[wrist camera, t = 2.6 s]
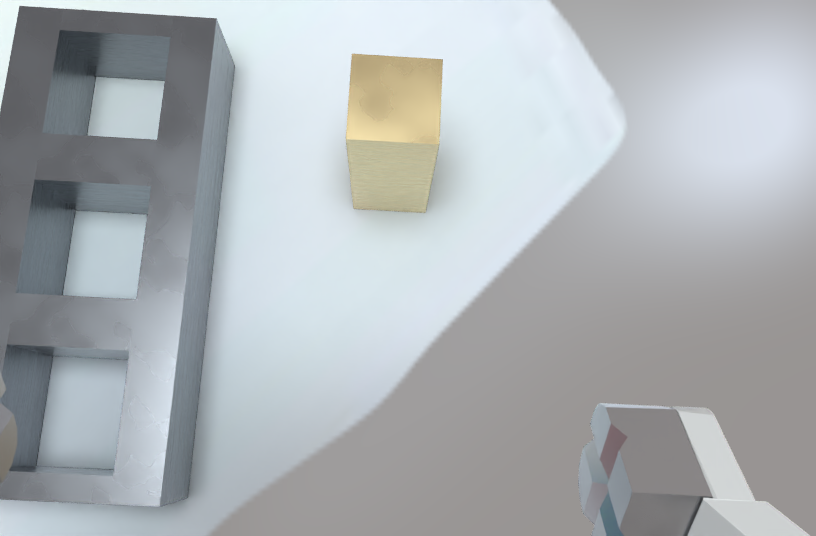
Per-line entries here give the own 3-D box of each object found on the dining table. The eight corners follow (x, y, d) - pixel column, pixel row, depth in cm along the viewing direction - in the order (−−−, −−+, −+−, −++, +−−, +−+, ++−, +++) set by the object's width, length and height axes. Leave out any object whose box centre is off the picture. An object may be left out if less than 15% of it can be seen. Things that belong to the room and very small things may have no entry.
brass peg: (425, 213, 42) (439, 144, 32) (353, 208, 42) (346, 138, 32) (428, 145, 43) (442, 59, 33) (358, 141, 43) (351, 53, 33)
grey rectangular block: (187, 498, 38) (159, 506, 33) (-13, 488, 38) (-70, 495, 33) (234, 65, 43) (216, 18, 39) (60, 54, 43) (19, 6, 38)
